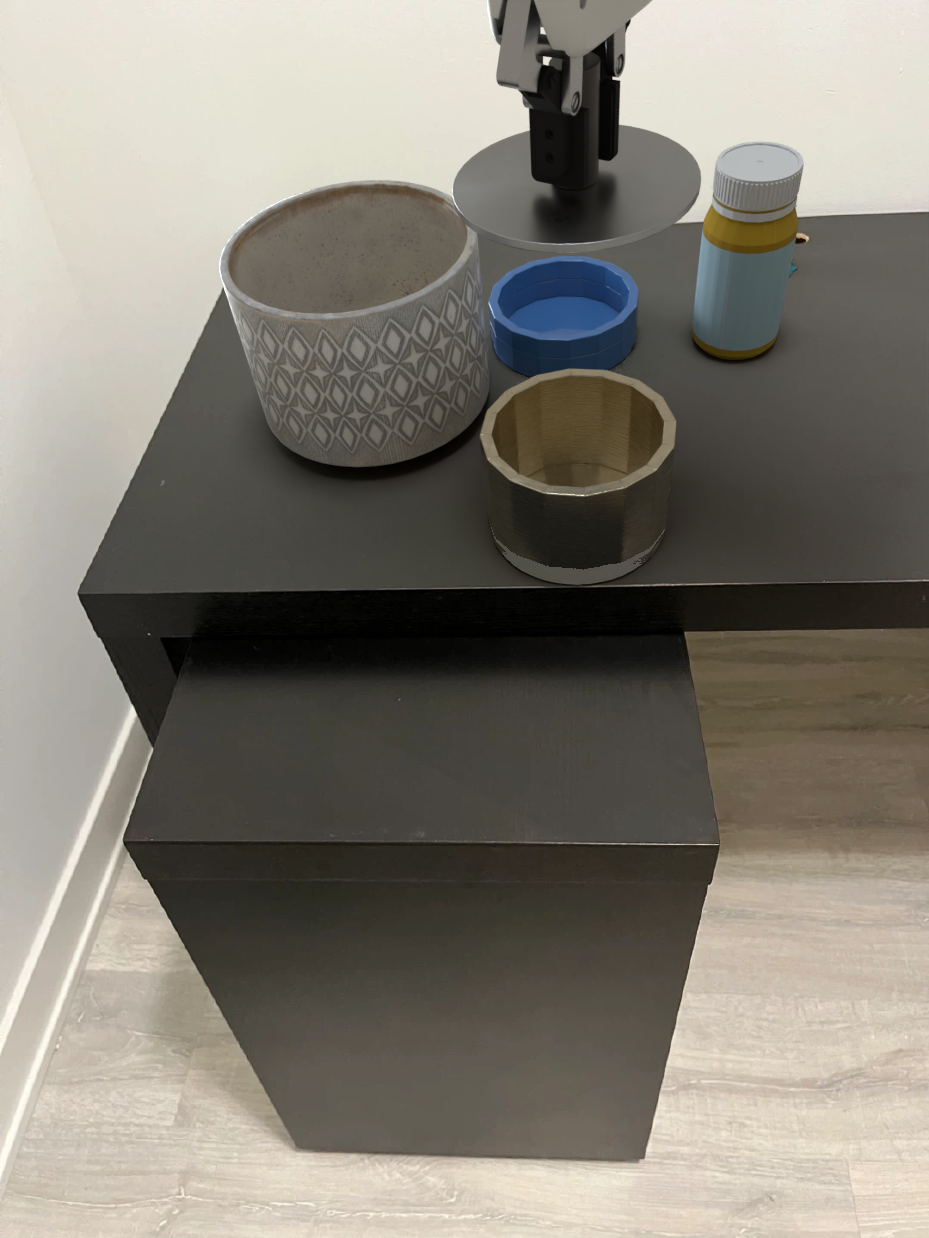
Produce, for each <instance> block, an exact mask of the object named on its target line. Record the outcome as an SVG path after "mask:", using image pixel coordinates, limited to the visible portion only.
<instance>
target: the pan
mask: <svg viewBox="0 0 929 1238" xmlns="http://www.w3.org/2000/svg"><path fill="white" fill-rule="evenodd" d="M491 290H492V291H491V292H490V296H489V299H488V301H487V302H488V314H489V315H488V316H489V329H490V338H491V341H492V346H493V350H494V352H495V354H496V356H497V357H498V358H499V360H500V361H501V362H502V363H503V364H504V365H505V366H507V367H508V368H510V369H511V370H512V371H515V372H517V373H518V374H522V375H524V376H526V377H530V378H532V377H534V376H536V375H540V374H545V373H550V372H555V371H560V370H565V369H594V370H608V371H610V370H611V369H613V368H614V367H616V366H617V365H619V364H620V363H622V361H624V360H625V359H626V358H627V357H628V356H629V354H630V353H631V351H632V350H633V349H634V346H635V343H636V338H637V329H638V320H639V319H638V315H639V299H640V298H639V296H640V289H639V287H638V286H637V284H636V282H635V281H634V279H633V277H632V275H631V274H630V273H628V272H627V271H625V270H624V269H622V268H621V267H619V266H617V265H616V264H615V263H612V262H610V261H605V260H601V259H598V258H593V257H589V256H580V255H579V256H578V255H577V256H575V255H572V256H571V255H569V256H568V255H558V256H552V257H547V258H542V259H536V260H531V261H529V262H527V263H525V264H523V265H520V266H518V267H516V268H514V269H512V270H509V271H507V272H506V273H505V275H504V276H502V277H501V278H500V279H499V280H498V281H497V282H496V283H495V284H494V285H493V287H492V289H491Z"/></svg>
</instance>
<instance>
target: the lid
mask: <svg viewBox="0 0 929 1238" xmlns="http://www.w3.org/2000/svg"><path fill="white" fill-rule="evenodd" d="M547 65H549V66H553V67H555V69H556V70H557V71H558V73H559V74H560V75H561V76H562V59H558V58H551V57H550V59H549V61H548V64H547ZM580 107H584V108H589V166H588V183H587V184H586V185H585V186H584V187H583V188H582V189H580V190H576V189H571V188H566V187H561V186H557V185H552V184H547V183H543V182H538V181H536V180H534V178H533V177H532V174H531V152H530V129H529V130H526V131H524V132H523V131H522V132H519V133H516V134H513V135H510V136H508V137H504V138H503V139H500V140H498V141H496V142H494V143H492V144H490V145H488V146H486V147H484V148H482V149H481V150H479V151H478V152H477V153H475V154H474V155H473V156H471V157H470V158H469V159H468V160H467V161H466V162H465V163H464V164H463V165H462V167H461V168H460V169H459V170H458V172H457V173H456V175H455V178H454V180H453V183H452V188H451V191H452V192H451V193H452V195H451V197H453V204H454V207H455V210H456V212H457V214H458V216H459V217H460V219H461V220H462V221H463V222H464V223H465V224H466V225H467V226H468V227H469V228H471V229H472V230H473V231H474V232H476V233H477V235H479V236H480V237H481V236H482V237H483V238H485V239H487V240H489V241H491V242H494V243H497V244H500V245H502V246H503V245H504V246H507V247H510V248H514V249H518V250H523V251H530V252H539V253H549V254H551V253H555V254H575V253H577V254H578V253H588V252H597V251H602V250H603V251H604V250H609V249H616V248H619V247H623V246H626V245H630V244H634V243H637V242H640V241H643V240H645V239H648V238H650V237H653V236H654V235H657V234H660V233H661V232H663V231H665V230H666V229H668V228H670V227H672V226H673V225H674V224H676V223H677V222H679V221H680V220H682V218H684V216H685V215H687V214H688V213H689V212H690V210H691V209H692V208H693V207H694V205H695V204H696V202H697V200H698V198H699V196H700V191H701V184H702V173H701V169H700V166H699V162H698V161H697V159H696V158H695V157H694V155H693V154H692V153H691V152H690V151H689V150H688V149H687V148H686V147H684V146H683V145H682V144H680V143H679V142H677V141H675V140H674V139H672V138H670V137H668V136H665V135H663V134H660V133H658V132H655V131H651V130H648V129H645V128H641V127H636V126H632V125H626V124H625V125H624V124H619V140H618V154H617V155H616V156H615V157H614V158H613V159H612V160H611V161H604V160H599V120H600V57H599V56H598V55H597V54H595V53H592V52H589V53H588V54H586V55H584V56H583V75H582V101H581V106H580Z"/></svg>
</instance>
